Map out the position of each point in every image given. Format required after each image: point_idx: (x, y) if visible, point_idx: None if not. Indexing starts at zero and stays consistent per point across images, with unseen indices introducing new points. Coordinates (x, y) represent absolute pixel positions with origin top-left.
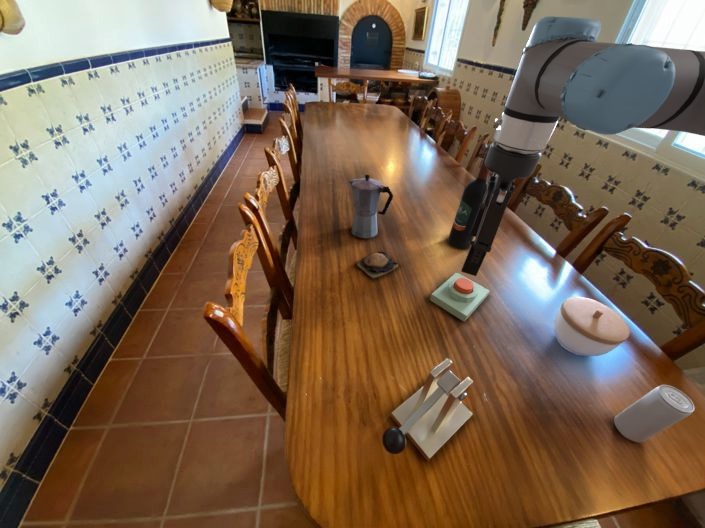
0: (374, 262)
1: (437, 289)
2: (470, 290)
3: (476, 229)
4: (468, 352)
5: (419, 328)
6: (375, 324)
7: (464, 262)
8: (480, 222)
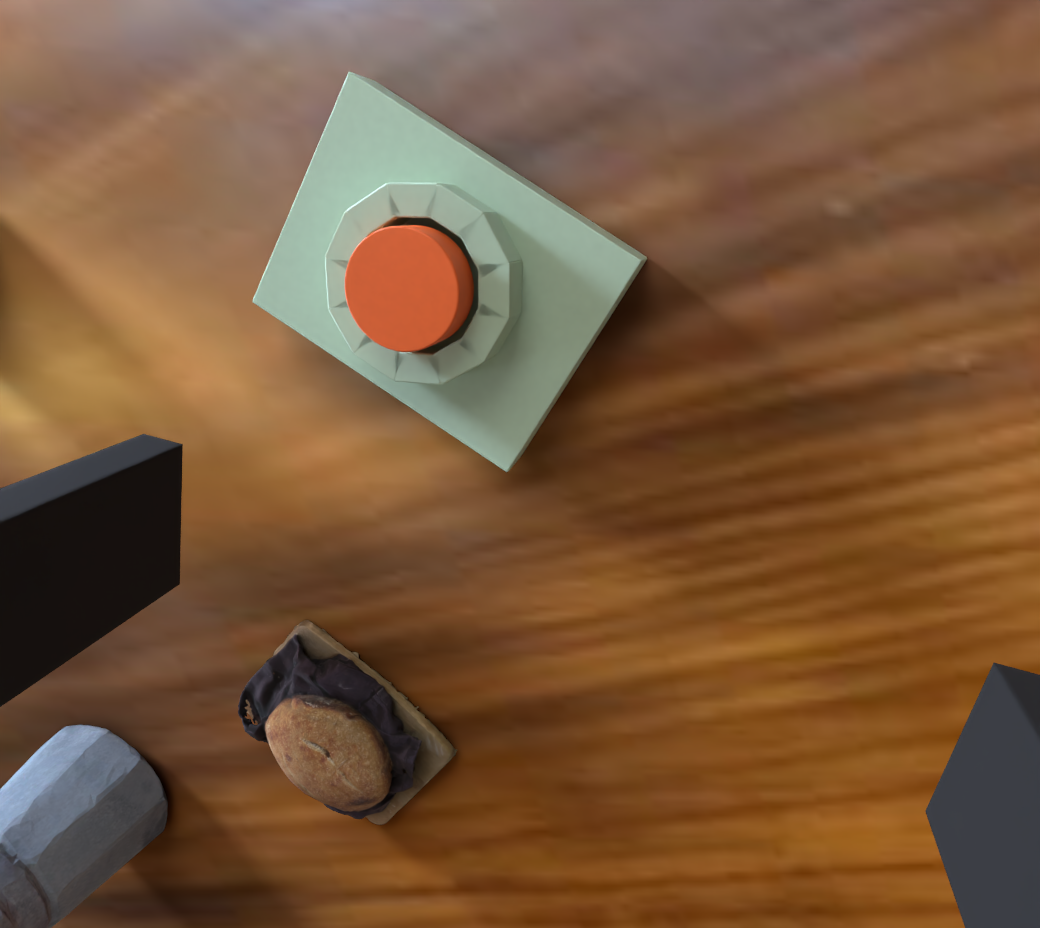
0: (366, 783)
1: (454, 434)
2: (448, 249)
3: (105, 583)
4: (894, 247)
5: (759, 522)
6: (778, 737)
7: (968, 911)
8: (5, 633)
